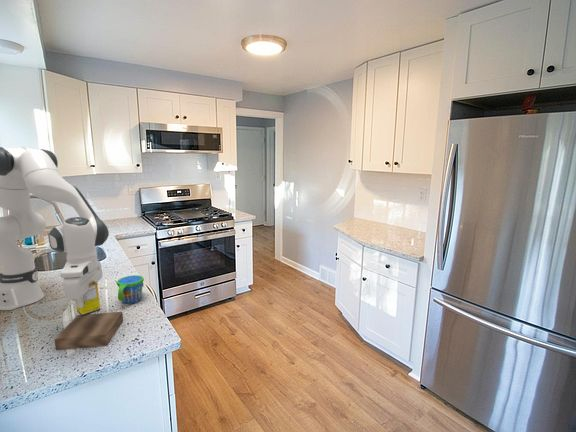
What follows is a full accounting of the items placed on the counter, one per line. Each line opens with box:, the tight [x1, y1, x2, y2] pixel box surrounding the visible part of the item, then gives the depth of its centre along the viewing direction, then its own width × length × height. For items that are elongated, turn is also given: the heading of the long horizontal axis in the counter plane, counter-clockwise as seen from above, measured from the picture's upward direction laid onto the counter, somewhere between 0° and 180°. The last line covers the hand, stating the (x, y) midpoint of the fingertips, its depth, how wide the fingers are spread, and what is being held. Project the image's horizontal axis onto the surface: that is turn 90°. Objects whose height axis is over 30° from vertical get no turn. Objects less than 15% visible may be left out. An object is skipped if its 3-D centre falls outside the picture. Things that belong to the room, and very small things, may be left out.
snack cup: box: [116, 274, 144, 304], centre depth 138 cm, size 16×10×10 cm
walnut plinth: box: [54, 311, 124, 351], centre depth 112 cm, size 16×16×4 cm
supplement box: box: [75, 280, 101, 316], centre depth 110 cm, size 6×6×11 cm
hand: (87, 300), depth 110 cm, fingers closed on supplement box, 8 cm apart
